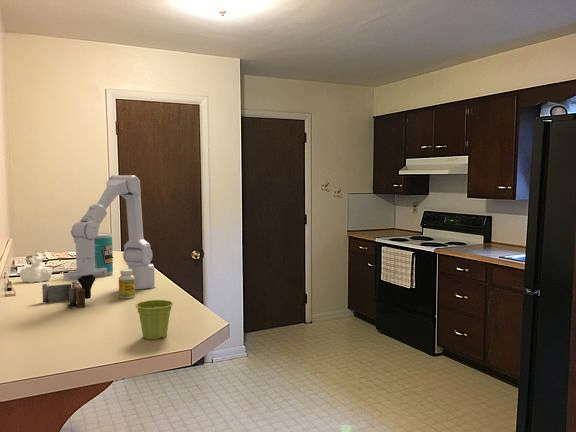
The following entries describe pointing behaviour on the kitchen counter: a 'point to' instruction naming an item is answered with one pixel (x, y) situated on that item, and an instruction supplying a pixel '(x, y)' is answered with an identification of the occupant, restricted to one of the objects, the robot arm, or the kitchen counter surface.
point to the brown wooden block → (80, 295)
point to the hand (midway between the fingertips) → (86, 298)
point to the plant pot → (154, 318)
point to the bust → (36, 271)
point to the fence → (56, 292)
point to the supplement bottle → (126, 284)
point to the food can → (103, 253)
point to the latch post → (72, 299)
